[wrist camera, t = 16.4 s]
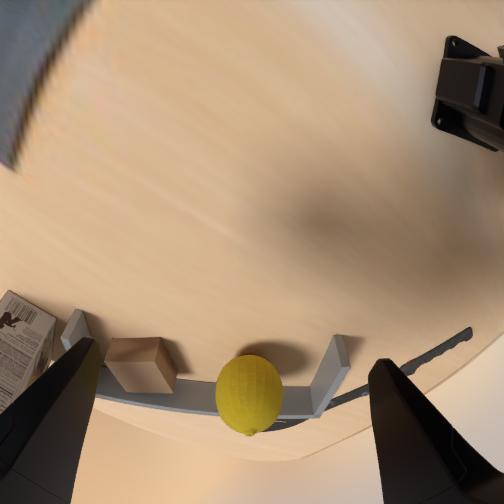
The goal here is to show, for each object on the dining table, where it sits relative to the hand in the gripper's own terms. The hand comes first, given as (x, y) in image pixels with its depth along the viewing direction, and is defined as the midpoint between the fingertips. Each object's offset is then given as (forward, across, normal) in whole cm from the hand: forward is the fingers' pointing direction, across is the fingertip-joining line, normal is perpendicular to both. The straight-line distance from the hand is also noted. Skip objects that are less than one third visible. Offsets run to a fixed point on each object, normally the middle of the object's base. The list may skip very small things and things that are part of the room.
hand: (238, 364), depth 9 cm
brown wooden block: (+12, +8, +17) cm, 22 cm away
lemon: (+12, -2, +15) cm, 19 cm away
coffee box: (+12, +21, +16) cm, 29 cm away
